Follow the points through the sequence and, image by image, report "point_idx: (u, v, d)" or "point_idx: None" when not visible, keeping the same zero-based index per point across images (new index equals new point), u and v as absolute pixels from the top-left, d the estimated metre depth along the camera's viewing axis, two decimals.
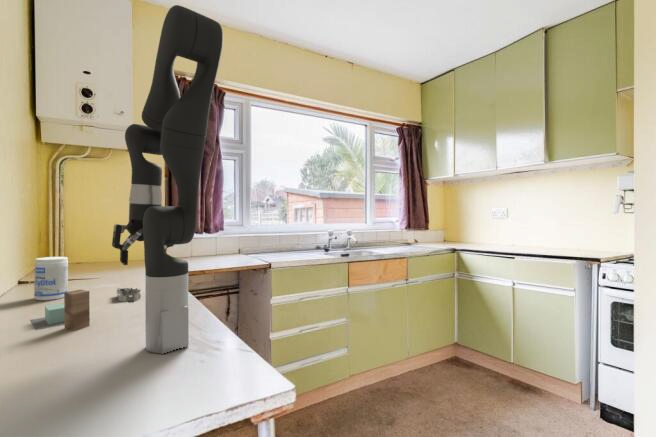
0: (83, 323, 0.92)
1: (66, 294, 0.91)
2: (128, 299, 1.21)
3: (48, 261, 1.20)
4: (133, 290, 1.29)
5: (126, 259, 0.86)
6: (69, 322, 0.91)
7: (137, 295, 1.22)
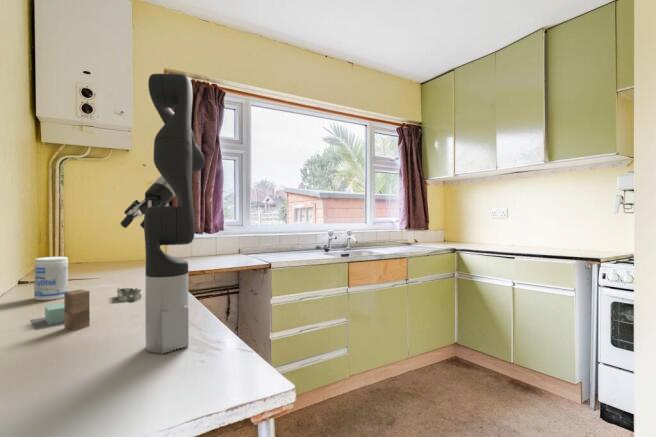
0: (83, 323, 0.92)
1: (66, 294, 0.91)
2: (129, 299, 1.21)
3: (48, 261, 1.20)
4: (133, 290, 1.29)
5: (123, 220, 1.05)
6: (69, 322, 0.91)
7: (138, 295, 1.22)
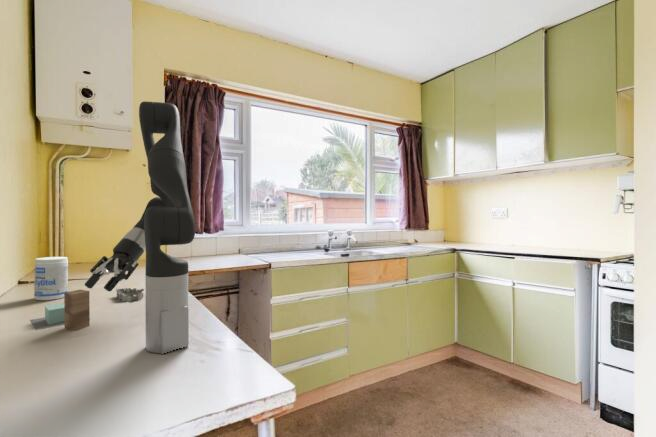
0: (83, 323, 0.92)
1: (66, 294, 0.91)
2: (132, 299, 1.21)
3: (48, 261, 1.20)
4: (131, 290, 1.29)
5: (88, 280, 0.99)
6: (69, 322, 0.91)
7: (140, 294, 1.23)
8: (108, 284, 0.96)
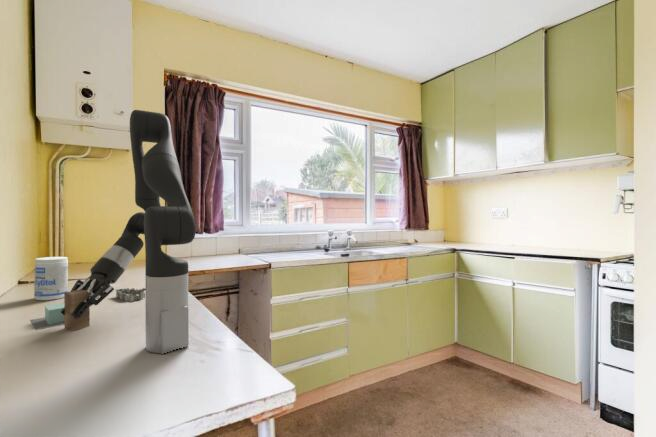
0: (83, 323, 0.92)
1: (66, 294, 0.91)
2: (134, 298, 1.22)
3: (48, 261, 1.20)
4: None
5: None
6: (69, 322, 0.91)
7: (143, 294, 1.24)
8: (76, 310, 0.90)
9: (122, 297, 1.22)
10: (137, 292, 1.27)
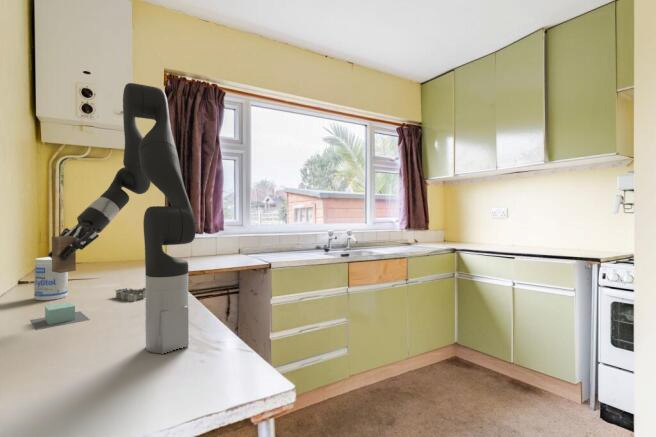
0: (69, 266, 0.97)
1: (53, 238, 0.96)
2: (137, 298, 1.23)
3: (48, 261, 1.20)
4: None
5: None
6: (56, 264, 0.96)
7: (145, 293, 1.25)
8: (62, 253, 0.95)
9: (124, 297, 1.22)
10: (137, 292, 1.28)
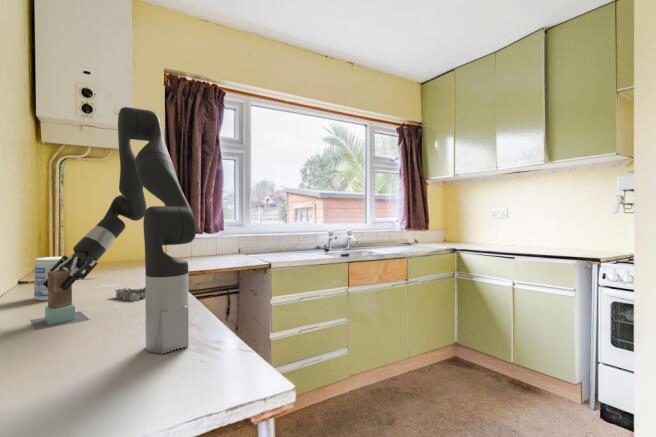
0: (65, 301, 0.98)
1: (49, 274, 0.97)
2: (139, 297, 1.23)
3: (48, 261, 1.20)
4: None
5: (47, 280, 0.99)
6: (52, 300, 0.97)
7: None
8: (63, 283, 0.95)
9: (125, 297, 1.22)
10: (137, 292, 1.28)
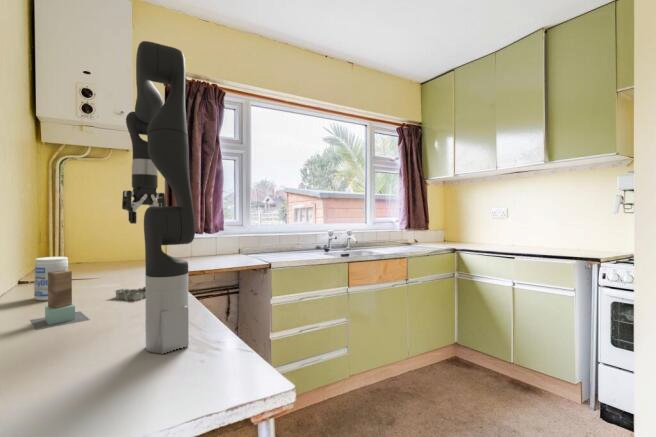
0: (65, 301, 0.98)
1: (49, 274, 0.97)
2: None
3: (48, 261, 1.20)
4: (124, 291, 1.28)
5: (135, 218, 1.08)
6: (52, 300, 0.97)
7: None
8: None
9: (127, 297, 1.22)
10: (135, 291, 1.28)
